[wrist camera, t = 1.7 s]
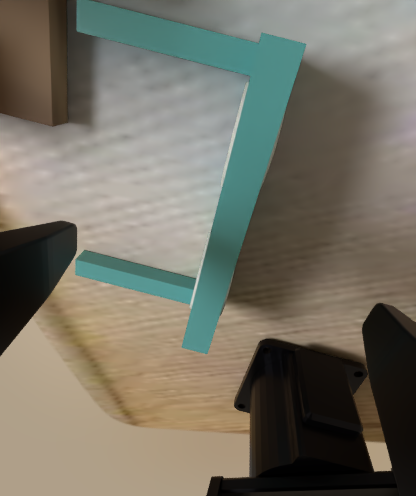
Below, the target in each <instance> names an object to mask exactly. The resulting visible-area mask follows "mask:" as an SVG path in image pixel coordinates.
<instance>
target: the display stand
mask: <svg viewBox="0 0 416 496" xmlns="http://www.w3.org/2000/svg"><path fill="white" fill-rule="evenodd" d="M0 113H2V114H6V115H10V116H14V117H18V118H21V119H25V120H29V121H33V122H37V123H41V124H45V125H49V126H56V125H60V124H65V123H68V111H67V0H0Z"/></svg>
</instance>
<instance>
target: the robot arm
mask: <svg viewBox="0 0 416 496" xmlns="http://www.w3.org/2000/svg"><path fill="white" fill-rule="evenodd" d="M76 251H77V227H76V225H75V224H73V223H70V222H66V221H56V222H51V223H46V224H41V225H35V226H30V227H25V228H19V229H14V230H9V231H4V232H0V356H1V355H2V353H3V352H4V351H5V350H6V349H7V347H8V346H9V345H10V344H11V342H12V341H13V340H14V339H15V338H16V336H17V335H18V334H19V333H20V331H21V330H22V329H23V328H24V326H25V325H26V324H27V323H28V322H29V320H30V319H31V318H32V317H33V315H34V314H35V313H36V312H37V311H38V309H39V308H40V307H41V306H42V304H43V303H44V302H45V301H46V299H47V298H48V297H49V295H50V294H51V293H52V291H53V290H54V288H55V287H56V285H57V283H58V282H59V280H60V279H61V277H62V275H63V274H64V272H65V271H66V269H67V268H68V266H69V264H70V263H71V261H72V260H73V258H74V256H75V254H76ZM362 334H363V341H364V348H365V354H366V361H367V368H368V373H367V370H366V367H365V366H364V365H363V364H361V363H358V362H354V361H350V360H346V359H342V358H338V357H335V356H331V355H327V354H323V353H319V352H315V351H311V350H308V349H304V348H300V347H296V346H292V345H288V344H284V343H280V342H277V341H273V340H268V339H265V340H262V341H260V342H259V344H258V346H257V348H256V351H255V353H254V355H253V358H252V360H251V362H250V365H249V367H248V369H247V372H246V374H245V376H244V379H243V381H242V383H241V385H240V388H239V390H238V392H237V395H236V397H235V401H234V407H235V408H236V409H237V410H239V411H243V412H247V413H250V473H249V474H250V475H249V477H242V478H223V476H217V477H216V476H215V477H211V481H210V484H209V488H208V492H207V495H206V496H416V322H414V321H413V320H411V319H410V318H409V317H407V316H406V315H405V314H403V313H402V312H401V311H399V310H398V309H397V308H395V307H394V306H391V305H387V304H383V303H378V304H376V305H375V306H374V307H373V309H372V311H371V312H370V314H369V315H368V317H367V318H366V320H365V322H364V323H363V327H362ZM266 348H268V349H266ZM357 371H358V372H357ZM368 374H369V379H370V384H371V388H372V392H373V396H374V399H375V403H376V407H377V411H378V415H379V419H380V422H381V426H382V430H383V434H384V438H385V442H386V445H387V449H388V453H389V457H390V461H391V464H392V468H391V471H377V472H374V469H373V466H372V463H371V459H370V456H369V453H368V450H367V446H366V443H365V440H364V437H363V433H362V431H363V425H362V422H361V419H360V416H359V413H358V410H357V406H356V403H355V400H354V397H353V395H354V393H355V392H356V391H357V389H358V388H359V386H360V385H361V384H362V382H363V381H364V380H365V378H366V377H367V375H368Z"/></svg>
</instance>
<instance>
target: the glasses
mask: <svg viewBox="0 0 416 496" xmlns="http://www.w3.org/2000/svg"><path fill="white" fill-rule="evenodd" d="M77 32H81V33H85V34H89V35H93V36H96V37H100V38H104V39H108V40H112V41H116V42H120V43H124V44H128V45H132V46H135V47H139V48H143V49H147V50H151V51H155V52H159V53H163V54H167V55H171V56H174V57H178V58H182V59H186V60H190V61H194V62H198V63H202V64H206V65H210V66H214V67H217V68H221V69H225V70H229V71H233V72H237V73H241V74H245V75H249V76H250V80H249V82H246V85H245V88H244V92H243V96H242V99H241V103H240V107H239V111H238V115H237V119H236V122H235V126H234V130H233V134H232V138H231V142H230V146H229V150H228V154H227V158H226V163H225V167H224V171H223V175H222V179H221V184H220V185H221V186H223V187H222V191H221V194H220V198H219V202H218V206H217V210H216V214H215V218H214V222H213V226H212V230H211V232H209V234H208V237H207V241H206V245H205V248H204V252H203V256H202V260H201V264H200V267H199V271H198V275H197V279H194V278H190V277H186V276H183V275H179V274H175V273H171V272H167V271H163V270H159V269H155V268H152V267H148V266H144V265H140V264H136V263H132V262H128V261H124V260H121V259H117V258H113V257H109V256H105V255H101V254H97V253H93V252H89V251H86V250H84V251H83V252H82V253H81V254H80V255H79V257H78V258H77V259H76V269H75V275H78V276H82V277H86V278H89V279H93V280H97V281H101V282H105V283H109V284H113V285H117V286H120V287H124V288H128V289H132V290H136V291H140V292H144V293H148V294H151V295H155V296H159V297H163V298H167V299H171V300H175V301H179V302H182V303H186V304H190V308H191V313H190V316H189V320H188V324H187V328H186V332H185V336H184V340H183V344H182V348H185V349H189V350H193V351H197V352H201V353H205V354H208V350H209V347H210V344H211V341H212V338H213V335H214V332H215V329H216V325H217V322H218V319H219V316H220V315H221V314H222V312H223V309H224V306H225V303H226V300H227V297H228V294H229V290H230V287H231V283H232V279H233V275H234V271H235V266H236V263H237V260H238V257H239V253H240V250H241V247H242V244H243V241H244V238H245V235H246V231H247V228H248V225H249V222H250V219H251V216H252V213H253V210H254V206H255V203H256V200H257V197H258V194H259V191H260V189H261V187H262V185H263V183H264V180H265V178H266V175H267V173H268V170H269V167H270V164H271V161H272V158H273V155H274V152H275V149H276V145H277V142H278V138H279V135H280V131H281V127H282V123H283V119H284V115H285V110H286V106H287V103H288V100H289V97H290V94H291V91H292V87H293V84H294V81H295V78H296V75H297V72H298V69H299V66H300V62H301V59H302V56H303V53H304V50H305V47H306V44H304V43H300V42H296V41H292V40H289V39H285V38H281V37H277V36H273V35H269V34H265V33H261V37H260V41H259V43H255V42H251V41H247V40H243V39H239V38H236V37H232V36H228V35H224V34H220V33H216V32H212V31H208V30H204V29H200V28H196V27H193V26H189V25H185V24H181V23H177V22H173V21H169V20H165V19H161V18H157V17H153V16H150V15H146V14H142V13H138V12H134V11H130V10H126V9H122V8H118V7H114V6H111V5H107V4H103V3H99V2H95V1H91V0H77Z"/></svg>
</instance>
